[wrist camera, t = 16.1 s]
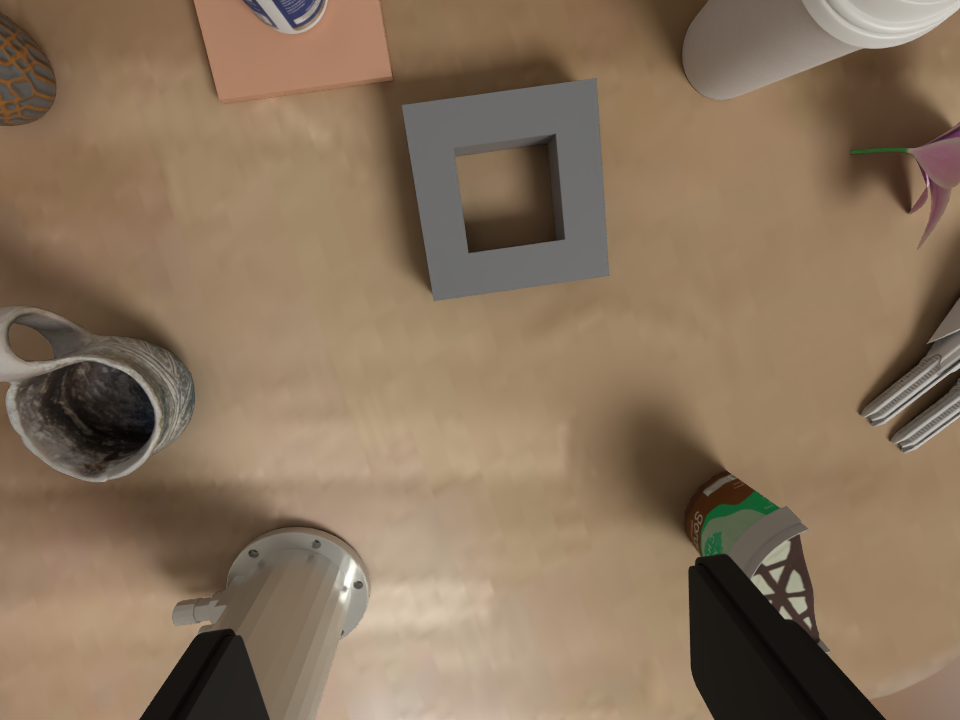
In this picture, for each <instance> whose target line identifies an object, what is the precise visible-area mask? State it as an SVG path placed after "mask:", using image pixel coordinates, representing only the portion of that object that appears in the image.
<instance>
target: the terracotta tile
mask: <svg viewBox="0 0 960 720" xmlns="http://www.w3.org/2000/svg"><path fill="white" fill-rule="evenodd" d="M194 3H195V7H196V11H197V15H198V19H199V23H200V27H201V31H202V35H203V39H204V43H205V46H206V50H207V54H208V58H209V62H210V66H211V70H212V74H213V78H214V82H215V86H216V90H217V93H218V97H219V100H220V101H222V102H223V103H225V104H226V103H233V102H241V101H248V100H255V99H262V98H270V97H277V96H284V95H291V94H299V93H306V92H313V91H320V90H328V89H335V88H342V87H349V86H357V85H364V84H371V83H378V82H386V81H393V74H392V68H391V62H390V56H389V50H388V44H387V38H386V32H385V26H384V20H383V14H382V8H381V2H380V0H328V1H327V6H326V10H325V12H324V14H323V16H322V18H321V19H320V21H319V22H318V23H317V24H316V25H315V26H314V27H312V28H311V29H309V30H307V31H305V32H302V33H298V34H285V33H281V32H278V31H276V30H274V29H272V28H270V27H268V26H267V25H266V24H264V23H263V22H262V21H261V20H260V19H259V18H258V17H257V16H256V15H255V14H254V13H253V12H252V10H251V9H250V8H249V7H248V6H247V5H246V4H245V2H244V1H243V0H194Z"/></svg>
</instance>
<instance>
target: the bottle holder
mask: <svg viewBox="0 0 960 720" xmlns="http://www.w3.org/2000/svg"><path fill="white" fill-rule="evenodd" d="M402 110H403V116H404V122H405V129H406V135H407V141H408V147H409V153H410V159H411V165H412V171H413V177H414V184H415V190H416V196H417V202H418V208H419V214H420V220H421V226H422V232H423V239H424V245H425V251H426V257H427V263H428V269H429V275H430V281H431V287H432V293H433V300H434V301H437V300H444V299H451V298H458V297H465V296H472V295H479V294H486V293H493V292H500V291H507V290H514V289H521V288H528V287H534V286H541V285H548V284H555V283H562V282H569V281H576V280H583V279H590V278H597V277H604V276H609V265H608V250H607V234H606V219H605V203H604V187H603V172H602V156H601V141H600V125H599V110H598V94H597V79H596V78H594V79H587V80H579V81H572V82H565V83H558V84H551V85H543V86H536V87H529V88H522V89H514V90H507V91H500V92H493V93H486V94H478V95H471V96H464V97H457V98H450V99H442V100H435V101H428V102H421V103H413V104H406V105H402ZM541 144H547V145H548V155H549V166H550V177H551V188H552V199H553V210H554V221H555V232H556V240H555V241H548V242H541V243H534V244H527V245H520V246H513V247H506V248H498V249H491V250H484V251H477V252H470V253H468V246H467V239H466V232H465V225H464V218H463V211H462V204H461V196H460V189H459V182H458V175H457V168H456V161H455V156H462V155H470V154H477V153H484V152H491V151H498V150H505V149H512V148H520V147H527V146H534V145H541Z"/></svg>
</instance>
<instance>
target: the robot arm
mask: <svg viewBox="0 0 960 720" xmlns="http://www.w3.org/2000/svg"><path fill="white" fill-rule="evenodd" d="M688 574H689V615H690V656H691V671H692V675H693V678H694V681H695V684H696V686H697V688H698V690H699V692H700V694H701V696H702V698H703V700H704V701H705V703H706V705H707V707H708V709H709V711H710V712H711V714H712V716H713V718H714V720H886V719H885V718H884V717H883V716H882V715H881V714H880V712H879V711H878V710H877V709H876V708H875V707H874V706H873V705H872V704H871V702H870V701H869V700H868V699H867V698H866V697H865V696H864V695H863V694H862V693H861V691H860V690H859V689H858V688H857V687H856V686H855V685H854V684H853V683H852V682H851V680H850V679H849V678H848V677H847V676H846V675H845V674H844V673H843V672H842V670H841V669H840V668H839V667H838V666H837V665H836V664H835V663H834V662H833V661H832V659H831V658H830V657H829V656H828V655H827V654H826V653H825V652H824V651H823V649H822V648H821V647H820V646H819V645H818V644H817V643H816V642H815V641H814V640H813V638H812V637H811V636H810V635H809V634H808V633H807V632H806V631H805V630H804V629H803V628H802V627H801V626H800V625H799V624H798V623H797V622H795V621H793V620H791V619H784V618H783V616H782V615H781V614H780V613H779V612H778V611H777V610H776V608H775V607H774V606H773V605H772V604H771V603H770V602H769V600H768V599H767V598H766V597H765V596H764V595H763V594H762V593H761V591H760V590H759V589H758V588H757V587H756V586H755V585H754V583H753V582H752V581H751V580H750V579H749V578H748V577H747V575H746V574H745V573H744V572H743V571H742V570H741V569H740V567H739V566H738V565H737V564H736V563H735V562H734V561H733V560H732V558H731V557H729V556H728V555H727V554H725V553H723V554H717V555H710V556H704V557H698V558H697V559H696V561H695V566H690V567H689V572H688ZM369 596H370V581H369V576H368V572H367V570H366V567H365V565H364V563H363V561H362V560H361V559H360V557H359V556H358V554H357V553H356V552H355V551H354V550H353V549H352V548H351V547H350V546H349V545H348V544H346V543H345V542H343V541H342V540H341V539H339V538H338V537H336V536H333V535H331V534H329V533H327V532H324V531H321V530H317V529H313V528H305V527H287V528H281V529H277V530H272V531H270V532H267V533H265V534H263V535H260V536H259V537H257V538H256V539H254V540H253V541H251V542H250V543H249V544H248V545H247V546H246V547H245V548H244V549H243V550H242V551H241V552H240V554H239V555H238V556H237V558H236V559H235V561H234V562H233V564H232V566H231V568H230V570H229V573H228V577H227V582H226V590H225V591H220V592H216V593H215V594H214V595H213V596H212V597H211V598H205V599H203V598H197V599H190V600H183V601H180V602H178V603H177V604H176V606H175V608H174V610H173V615H172V620H173V624H174V625H176V626H181V625H188V624H194V623H200V622H201V621H207V620H209V621H210V622H211V623H212V625H205V626H202V627H201V628H200V629H199V632H198V635H197V636H196V637H195V638H194V640H193V641H192V642H191V644H190V645H189V647H188V648H187V650H186V651H185V653H184V654H183V656H182V657H181V659H180V660H179V662H178V663H177V665H176V666H175V668H174V669H173V670H172V672H171V673H170V675H169V676H168V678H167V679H166V681H165V682H164V684H163V685H162V687H161V688H160V690H159V691H158V693H157V694H156V696H155V697H154V699H153V700H152V702H151V703H150V705H149V706H148V707H147V709H146V710H145V712H144V713H143V715H142V716H141V718H140V719H139V720H315V718H316V715H317V711H318V708H319V705H320V701H321V698H322V695H323V692H324V688H325V685H326V682H327V678H328V675H329V672H330V669H331V665H332V662H333V659H334V655H335V652H336V649H337V646H338V642H339V640H341V639H342V638H344V637H345V636H347V635H348V634H349V633H350V632H351V631H352V630H354V629H355V628H356V626H357V625H358V624H359V622H360V621H361V619H362V618H363V615H364V613H365V611H366V608H367V604H368V600H369Z"/></svg>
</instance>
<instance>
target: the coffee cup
mask: <svg viewBox="0 0 960 720" xmlns="http://www.w3.org/2000/svg"><path fill="white" fill-rule="evenodd" d="M959 8H960V0H709V1H708V2H707V3H706V4H705V6H704V7H703V8H702V9H701V10H700V12H699V13H698V14H697V15H696V17H695V18H694V19H693V21H692V23H691V24H690V26H689V28H688V30H687V33H686V35H685V39H684V43H683V49H682V61H683V67H684V71H685V74H686V76H687V78H688V80H689V82H690V84H691V85H692V86H693V87H694V88H695V90H697V91H698V92H699V93H700V94H702V95H703V96H705V97H708V98H711V99H715V100H728V99H732V98H735V97H738V96H740V95H743V94H746V93H748V92H751V91H753V90H756V89H758V88H761V87H764V86H766V85H769V84H771V83H774V82H777V81H779V80H782V79H784V78H787V77H789V76H792V75H795V74H797V73H800V72H802V71H805V70H808V69H810V68H813V67H815V66H818V65H821V64H823V63H826V62H828V61H831V60H834V59H836V58H839V57H841V56H844V55H847V54H849V53H852V52H855V51H857V50H860V49H863V48H872V49H877V48H888V47H893V46H897V45H901V44H904V43H907V42H910V41H912V40H914V39H916V38H918V37H920V36H922V35H924V34H926V33H927V32H929V31H931V30H932V29H934V28H935V27H936V26H938V25H939V24H940V23H942V22H943V21H944V20H945V19H947V18H948V17H949V16H951V15H952V14H953V13H954V12H956V11H957V10H958V9H959Z"/></svg>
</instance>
